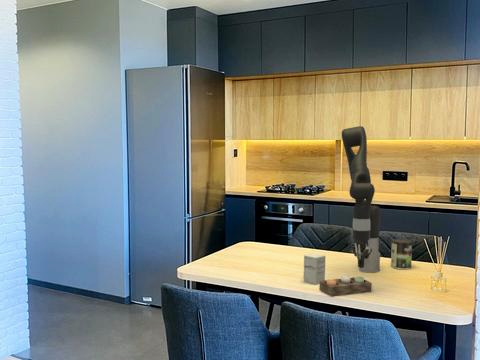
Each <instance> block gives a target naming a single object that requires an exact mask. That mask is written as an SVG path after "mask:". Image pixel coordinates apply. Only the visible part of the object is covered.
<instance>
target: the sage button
mask: <svg viewBox="0 0 480 360" xmlns="http://www.w3.org/2000/svg"><path fill="white" fill-rule="evenodd" d="M364 280H365V278H364V277H362V276H355V281H356V282H364Z"/></svg>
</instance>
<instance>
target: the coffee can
mask: <svg viewBox="0 0 480 360" xmlns="http://www.w3.org/2000/svg"><path fill="white" fill-rule="evenodd" d="M390 241H391V253H390V254H391V256H390V267H391V268H392V269H396V270H403V271H404V270H405V271H406V270H407V271H408V270H411V269H412V254H413V253H412V251H413V241H412V240H410V239H403V238H393V239H391V240H390Z"/></svg>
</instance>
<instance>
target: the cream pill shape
mask: <svg viewBox="0 0 480 360" xmlns="http://www.w3.org/2000/svg"><path fill="white" fill-rule="evenodd" d="M350 278H351V276H350V275H349V274H340V279H341V283H343V284H348V283H350Z"/></svg>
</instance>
